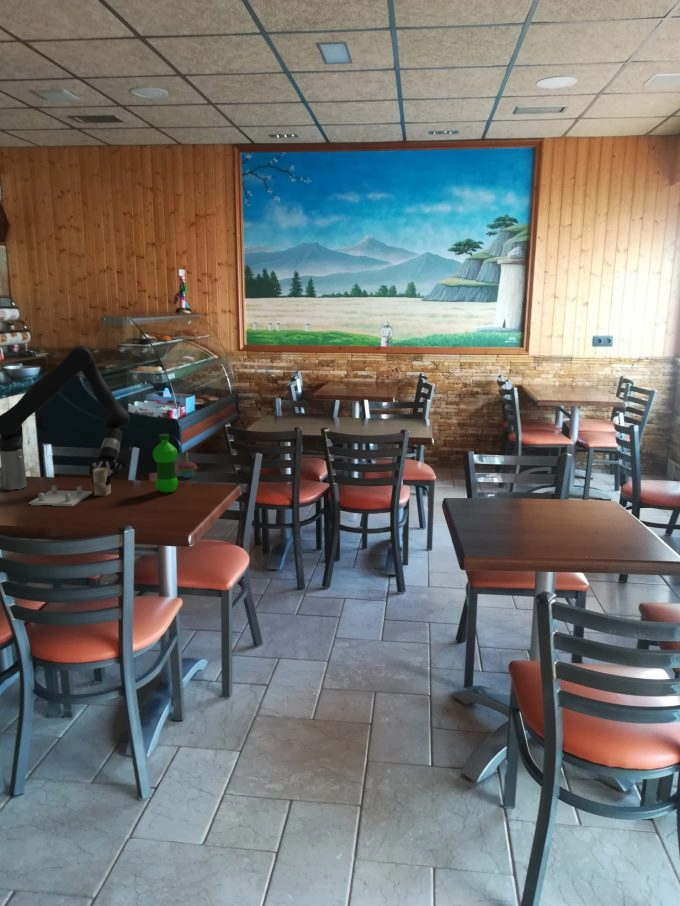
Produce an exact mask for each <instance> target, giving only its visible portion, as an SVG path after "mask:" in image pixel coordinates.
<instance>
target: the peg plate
mask: <svg viewBox="0 0 680 906" xmlns="http://www.w3.org/2000/svg"><path fill="white" fill-rule="evenodd" d="M92 493H93V492H92V490H90V491H89V490H88V491H87V490H86V491H85V490H83V487H82V486H81V485H77V486H76V490H58V489H57V485H56V484H55V485H53V484H52V485H51V490H49V491H47V492H45V493H44V492H39V493H38V497H37V498H34V499H33V500H31V501H30V502H28V505H29V504H31V505H30V506H41V505H52V506H53V507H74V506H75V505H77V504H78V503H80V502H81V501H82V500H84V499H86V498H87V497H89V496H90V495H92Z"/></svg>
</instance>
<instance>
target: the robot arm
mask: <svg viewBox="0 0 680 906" xmlns="http://www.w3.org/2000/svg"><path fill="white" fill-rule="evenodd" d="M80 372H81V373H82V374H83V375H84V377H85V379H86V380H87V383H88V384H89V386H90V389H91V390H92V393H93V395H94V397H95V399H96V400H97V402H98V404H99V406H100V407H101V409H102V410H104V411H110V412H111V413H110V414H108V415H107V417H106V419H105V435H104V437H103V441H102V443H101V447H100V451H99V454H98V457H97V458H98V459H97V461H95V462H93V461H90V462H89V470H88V471H89V475H90V477H92V479H91V483H92V485H93V486H94V478H93V470H94V469H96V468H100V467H103V468H109V469H108V476H107V479H106V483H105V484H106V485H107V486H109V484H111V481H112V479H113V478H117V477H118V475H119V473H120V471H121V470H122V469H123V468H122V467H123V466H122V464H121V462H117V459H118V456H119V453H120V447H121V443H122V438H123V432H122V430H121V429H119V428H121V427H122V428H123V427H125V426H127V425H129V424H130V422H131V416H130V414H129V412H128V411H127V410H126V409H125V408H124V406H123V405H121V403H120V402H118V400H117V399H116V398H115V396H114V394H113V392H112V390H111V389H110V387H109V386H108V385H107V383H106V381H105V379H104V377H103V376H102V374H101V372H100V370H99V369H98V367H97V365H96V362H95V359H94V356H93V353H92V351H91V350H90V348H89V347H87V346H85V345H82V344H80V345H79V344H77V345H75V346H74V347H73V348H72V349H71V350H70V352H69V353H68V354H67V356H66V357H65V358H63V360H62V361H61V362H60V363H59V364H58V365H57V366H56V367H55V368H54V369H52V370H51V371H49V372H48V373H46V374H44V375H43V376H41V377H40V378H39V379H38V380H37V381H36V382H35V383H34V384H33V385H32V386H31V387H30V388H29V389H28V390H27V391H26V392H25V393H24V394H23V395H22V396H21V397H20V399H19V400H18V402H16V403H15V404H14V405H13V406H12V407H10V408H9V409H8V410H7V411H5V412H4V413H2V414H0V485H1V486H0V487H1V490H6V491H16V490H15V489H18V490H22V488H23V489H25V488H27V487H26V486H27V485H28V482H27V476H26V475H27V473H26V465H25V464H26V463H25V455H24V454H25V453H24V445H23V444H24V435H23V424H24V422H26V420H27V419H28V418H29V417H30V416H31V415H33V414H34V413H36V412H37V411H39V410H40V409H41V408H42V407H44V406H45V405H47V404H48V403H49V402H50V401H52V400H53V398H55V397H56V396H57V394H59V393H60V391H62V389H63V388H65V386H66V385H67V384H68V382H69V381H70V380H72V379H73V377H75V376H77V374H79V373H80ZM24 487H25V488H24Z"/></svg>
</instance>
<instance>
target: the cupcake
mask: <svg viewBox="0 0 680 906" xmlns="http://www.w3.org/2000/svg"><path fill="white" fill-rule="evenodd" d="M185 454H186V461H184V462H181V463H180V464H179V465H178V471H179V472H180V473H181V475H182V478H186V479H190V478H193V477H194V475H195V471H196V470H197V469H198V465H197V464H196V463H195V462H194V461H189V453H188V452H186V453H185Z"/></svg>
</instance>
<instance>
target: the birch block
mask: <svg viewBox="0 0 680 906" xmlns="http://www.w3.org/2000/svg"><path fill="white" fill-rule="evenodd" d="M108 469H109V468H103V467H100V468H97V467H95V468H94V470H93V477H92V478H94V485H93V489H94V496H95V497H96V496H98V497H99V496H101V497H104V496H105V497H107V496H108V495H110V494H111V493H112V488H111V487H112V486H111V485H112V484H111V483H110V484H109V486H107V485H106V484H105V483H106V479H107V476H108Z"/></svg>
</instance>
